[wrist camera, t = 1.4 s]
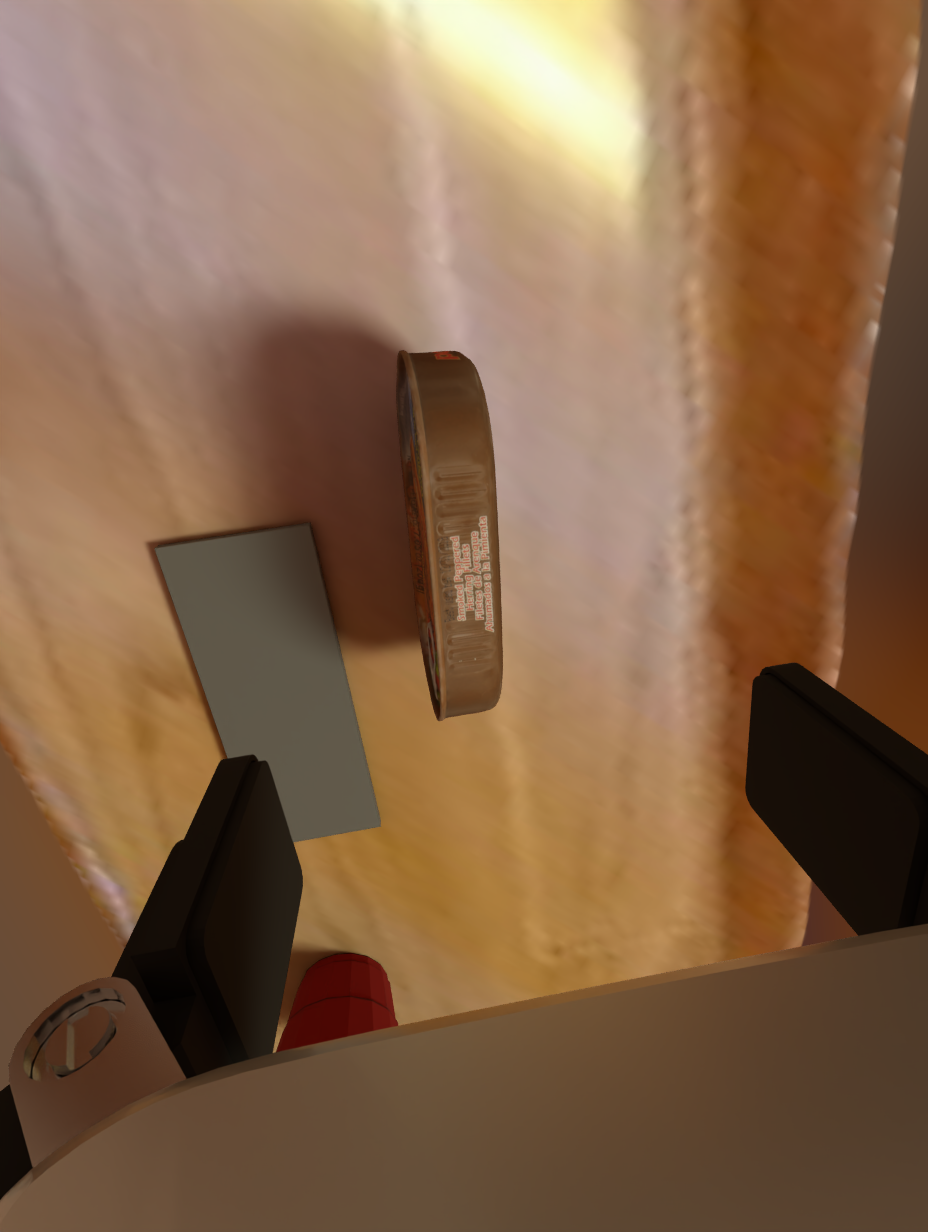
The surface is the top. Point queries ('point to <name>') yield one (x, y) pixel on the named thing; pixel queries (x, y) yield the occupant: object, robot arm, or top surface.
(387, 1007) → the plastic cup
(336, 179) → the top surface
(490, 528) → the tin
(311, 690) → the mat
